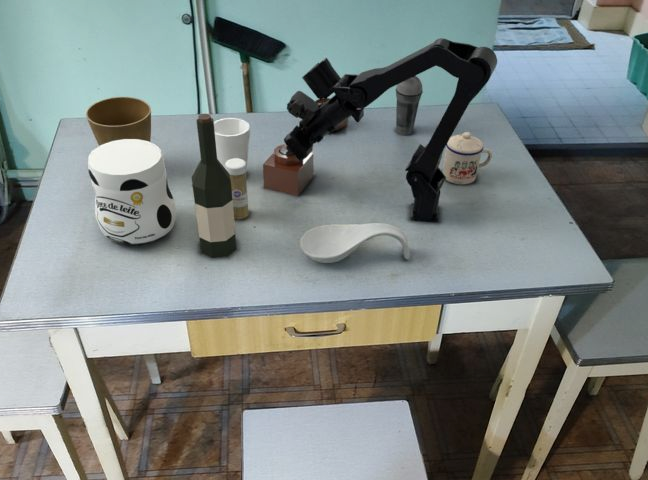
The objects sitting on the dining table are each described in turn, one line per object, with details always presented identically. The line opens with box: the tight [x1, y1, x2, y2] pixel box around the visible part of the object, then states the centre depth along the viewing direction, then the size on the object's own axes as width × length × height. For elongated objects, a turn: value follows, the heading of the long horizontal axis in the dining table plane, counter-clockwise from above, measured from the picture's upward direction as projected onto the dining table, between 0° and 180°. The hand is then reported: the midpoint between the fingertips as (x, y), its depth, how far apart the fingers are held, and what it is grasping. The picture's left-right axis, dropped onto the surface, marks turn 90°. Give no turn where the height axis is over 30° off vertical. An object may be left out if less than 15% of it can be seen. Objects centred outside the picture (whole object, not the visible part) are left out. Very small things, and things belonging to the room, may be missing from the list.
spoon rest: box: [299, 222, 411, 264], centre depth 143 cm, size 24×12×7 cm, turn 93°
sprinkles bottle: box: [225, 158, 250, 220], centre depth 151 cm, size 5×5×14 cm
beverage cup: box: [395, 75, 424, 136], centre depth 180 cm, size 7×7×20 cm
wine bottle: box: [191, 113, 238, 259], centre depth 136 cm, size 8×8×30 cm
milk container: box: [87, 139, 177, 246], centre depth 145 cm, size 17×17×18 cm
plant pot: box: [85, 96, 152, 147], centre depth 163 cm, size 15×15×16 cm
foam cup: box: [214, 117, 251, 173], centre depth 164 cm, size 10×9×13 cm
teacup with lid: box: [442, 131, 493, 185], centre depth 167 cm, size 12×9×12 cm
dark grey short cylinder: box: [280, 147, 294, 156], centre depth 161 cm, size 4×4×2 cm
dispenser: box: [262, 143, 314, 197], centre depth 164 cm, size 9×10×8 cm
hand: (287, 148), depth 160 cm, fingers closed, pressing on dark grey short cylinder
